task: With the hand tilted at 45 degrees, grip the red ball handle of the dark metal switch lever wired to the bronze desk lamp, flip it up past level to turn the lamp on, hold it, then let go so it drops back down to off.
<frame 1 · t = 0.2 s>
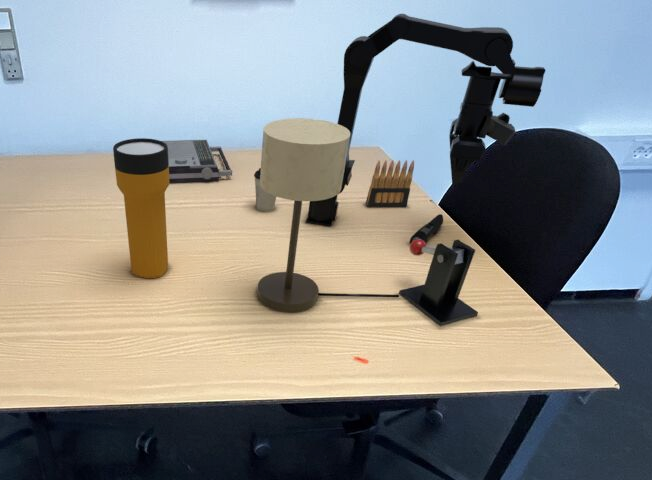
hand: (454, 177, 116), 15 cm above the table, tool pointing down, fingers open, 9 cm apart
electric trimmer: (425, 236, 126), on the table
flashlight: (149, 270, 112), on the table
lever: (434, 251, 99), point 10 cm above the table, hinge at -16.1°
radio: (193, 168, 159), on the table
desk lamp: (287, 295, 104), on the table
ammunition clip: (385, 206, 140), on the table
switch bracket: (436, 306, 102), on the table
coffee cup: (265, 208, 137), on the table
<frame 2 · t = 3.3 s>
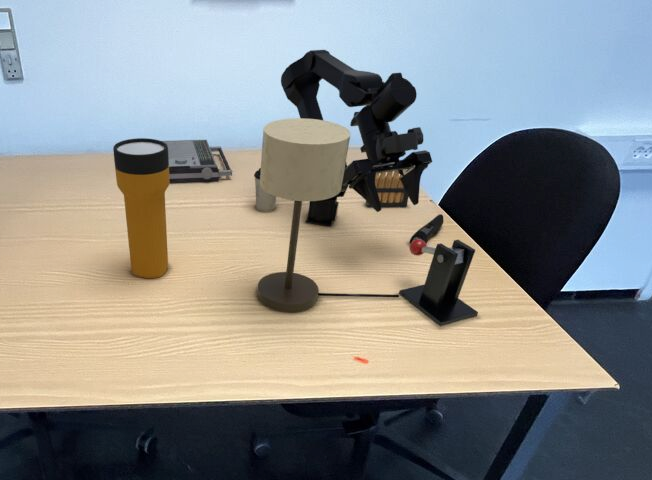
hand: (398, 207, 105), 14 cm above the table, tool tilted 45°, fingers open, 9 cm apart
nothing on the table moved.
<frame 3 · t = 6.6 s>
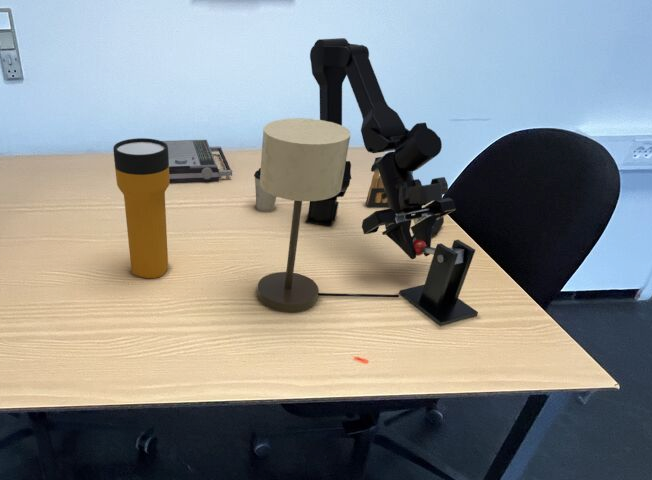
hand: (420, 257, 103), 7 cm above the table, tool tilted 45°, fingers closed on lever, 3 cm apart
lever: (434, 251, 99), point 10 cm above the table, hinge at -16.1°, touching gripper
everything else where it was.
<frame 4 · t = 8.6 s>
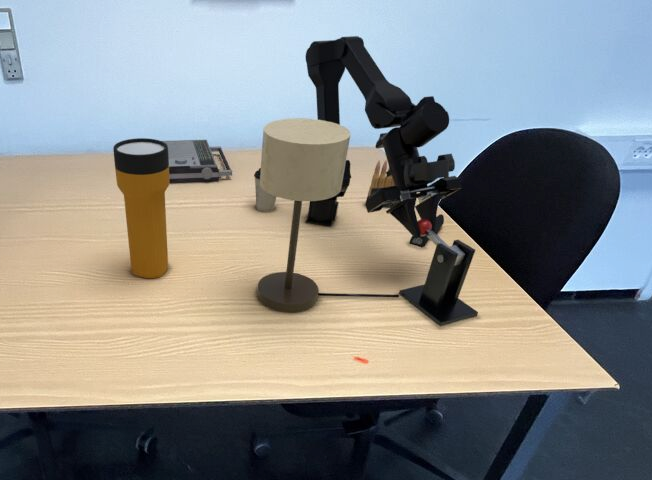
hand: (425, 236, 101), 11 cm above the table, tool tilted 45°, fingers closed on lever, 3 cm apart
lever: (437, 240, 98), point 12 cm above the table, hinge at 10.6°, touching gripper
everything else where it was.
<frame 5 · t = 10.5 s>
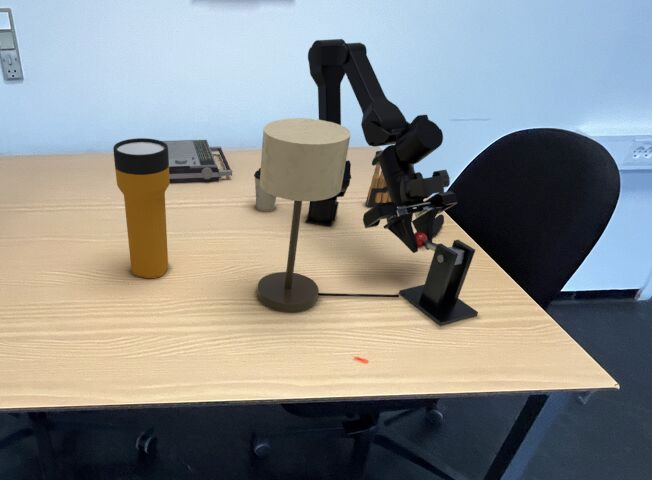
hand: (422, 250, 102), 8 cm above the table, tool tilted 45°, fingers closed on lever, 3 cm apart
lever: (435, 247, 99), point 10 cm above the table, hinge at -6.8°, touching gripper
everything else where it was.
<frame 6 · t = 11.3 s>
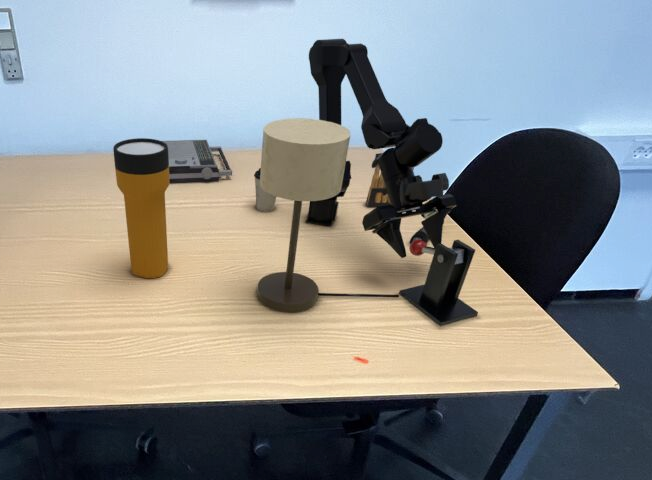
hand: (421, 253, 103), 8 cm above the table, tool tilted 45°, fingers open, 8 cm apart
lever: (434, 251, 99), point 10 cm above the table, hinge at -16.2°
everything else where it was.
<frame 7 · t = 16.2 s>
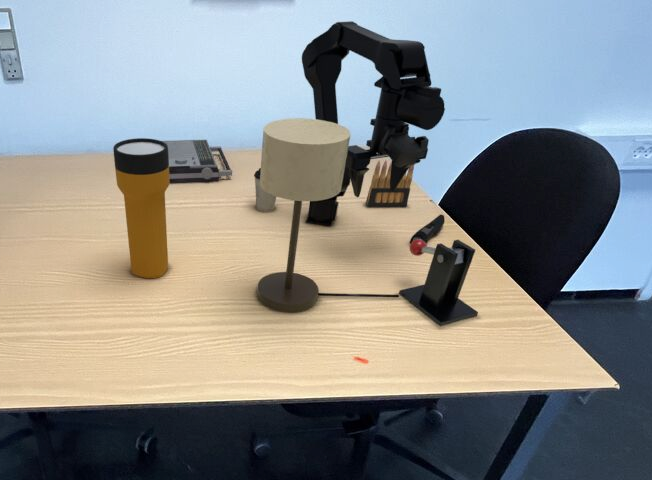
hand: (374, 193, 112), 13 cm above the table, tool pointing down, fingers open, 9 cm apart
nothing on the table moved.
at the end: lever reached +11° during the clip, -16° at the end; lever at -16° (first picture: -16°); the gripper is holding nothing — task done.
